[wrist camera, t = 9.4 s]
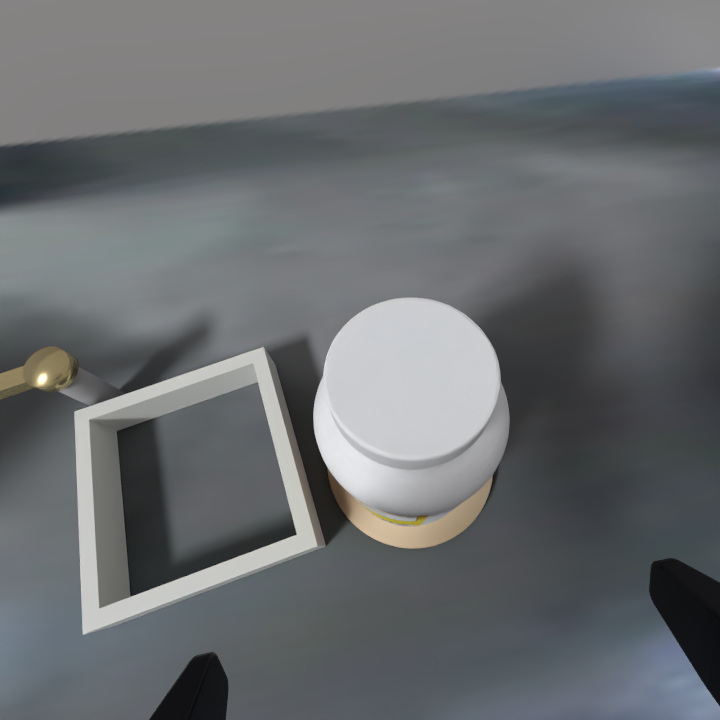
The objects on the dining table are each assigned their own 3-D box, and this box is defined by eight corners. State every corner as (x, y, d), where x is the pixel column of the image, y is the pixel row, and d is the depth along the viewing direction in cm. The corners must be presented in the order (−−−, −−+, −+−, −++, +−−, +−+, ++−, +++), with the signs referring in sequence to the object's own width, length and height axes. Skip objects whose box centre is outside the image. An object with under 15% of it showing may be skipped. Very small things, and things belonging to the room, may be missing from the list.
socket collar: (326, 546, 22) (306, 546, 17) (117, 624, 21) (38, 646, 16) (268, 340, 27) (242, 299, 22) (101, 397, 26) (39, 366, 22)
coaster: (526, 477, 22) (529, 476, 22) (393, 587, 21) (393, 588, 20) (420, 357, 26) (420, 353, 25) (299, 443, 24) (296, 441, 23)
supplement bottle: (439, 388, 24) (476, 238, 12) (490, 501, 21) (600, 446, 10) (330, 426, 24) (263, 309, 12) (368, 546, 21) (326, 546, 9)
